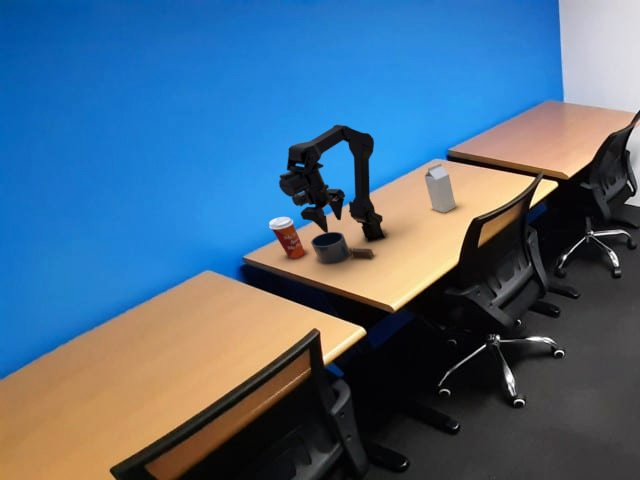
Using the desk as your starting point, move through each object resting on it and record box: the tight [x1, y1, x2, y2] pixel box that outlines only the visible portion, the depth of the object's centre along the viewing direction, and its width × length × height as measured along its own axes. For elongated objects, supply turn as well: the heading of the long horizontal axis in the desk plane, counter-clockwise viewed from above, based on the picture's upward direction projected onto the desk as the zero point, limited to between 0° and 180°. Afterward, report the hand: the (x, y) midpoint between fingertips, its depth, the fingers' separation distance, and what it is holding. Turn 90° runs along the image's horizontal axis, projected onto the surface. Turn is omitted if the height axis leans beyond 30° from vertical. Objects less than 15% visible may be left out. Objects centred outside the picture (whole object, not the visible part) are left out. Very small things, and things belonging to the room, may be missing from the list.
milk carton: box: [424, 162, 457, 214], centre depth 199 cm, size 7×7×19 cm
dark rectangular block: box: [350, 247, 375, 260], centre depth 174 cm, size 7×2×3 cm, turn 85°
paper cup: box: [268, 216, 306, 259], centre depth 172 cm, size 8×8×14 cm
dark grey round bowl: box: [310, 231, 351, 264], centre depth 173 cm, size 11×11×7 cm
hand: (333, 226), depth 167 cm, fingers open, 9 cm apart
